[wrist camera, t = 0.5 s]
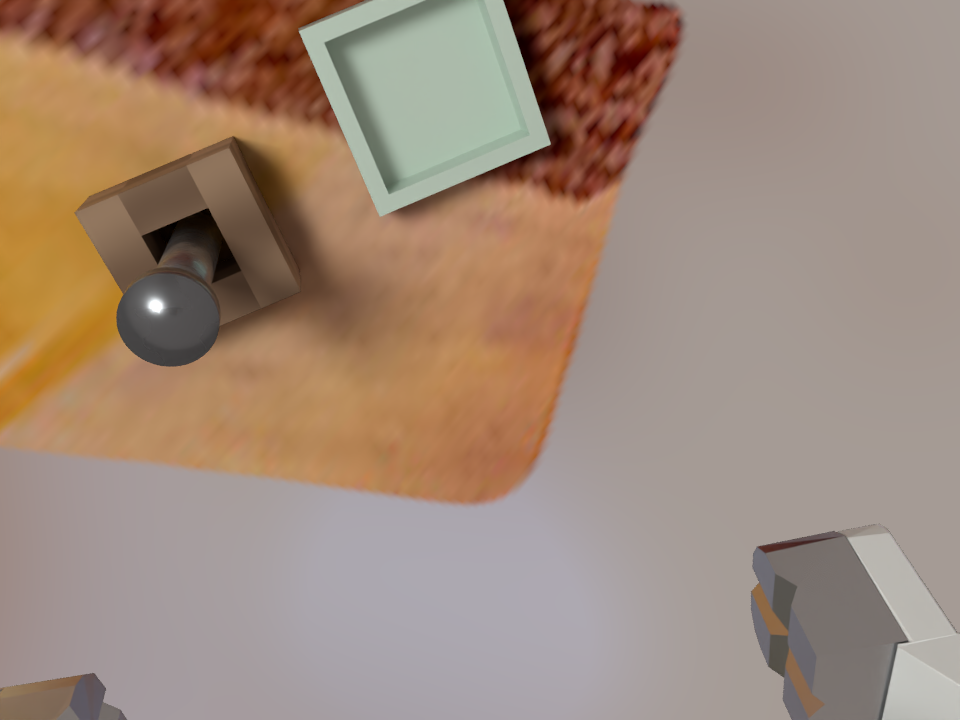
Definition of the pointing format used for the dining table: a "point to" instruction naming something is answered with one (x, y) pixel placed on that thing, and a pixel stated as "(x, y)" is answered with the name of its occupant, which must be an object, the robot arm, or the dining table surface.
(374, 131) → the tray
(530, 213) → the dining table surface
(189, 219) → the pin
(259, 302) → the socket block
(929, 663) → the robot arm
